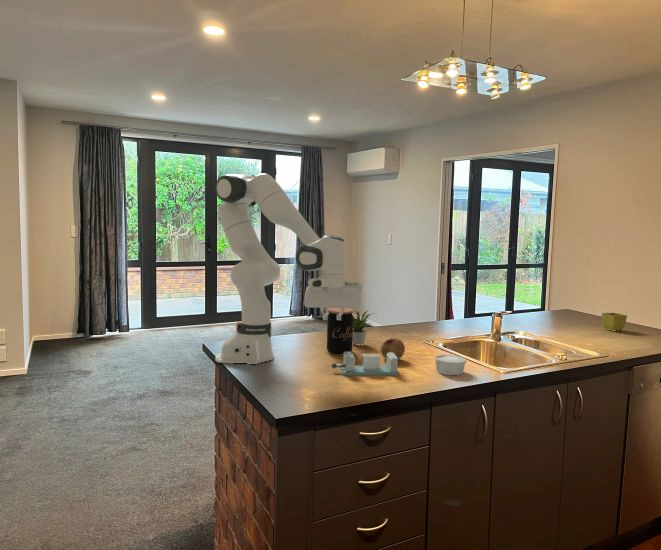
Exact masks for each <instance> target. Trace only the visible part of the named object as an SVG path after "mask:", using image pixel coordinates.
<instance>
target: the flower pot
mask: <svg viewBox="0 0 661 550" xmlns="http://www.w3.org/2000/svg"><path fill="white" fill-rule="evenodd" d="M627 317H628V315H627V314H621V313H617V312H603V313H601V322H602V323H601V324H602V326H603V327H604V329H605V328H606V329H611V330H621V331H622V330H623V329H624V327H625V325H626V322H627ZM606 329H605V330H606Z"/></svg>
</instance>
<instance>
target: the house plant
mask: <svg viewBox="0 0 661 550" xmlns="http://www.w3.org/2000/svg"><path fill="white" fill-rule="evenodd" d="M354 312H355V313H356V318H355V317H354V316H353V340H352V343H353V344H358V345H359V344H360V345H361V344H364V345H365V341H366V335H367V330H366V329H364V328H367V327H368V328H369V327H371V326H370V325H372V323H367V321H368V318H369V317H371V315H374V314H376V313H375V312H374V313H373V312H372V313H368V312H370V310H369V309H367V310H365V311H364V312H363V313H362V316H360V310H354ZM367 313H368V314H367Z"/></svg>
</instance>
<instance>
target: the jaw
mask: <svg viewBox="0 0 661 550" xmlns="http://www.w3.org/2000/svg"><path fill="white" fill-rule="evenodd" d="M342 360H343V361H342V362H343V363H334V362H333V363H332V364H331V368H332V369H336V368H337V369H338V368H340V369H341V368H345V370H346V371H353V370H354V367H355V366H356V365H355V364H356V363H355V362H356V359H355V356H354V354H353V352H352V351H351V352H344V355H343V359H342Z"/></svg>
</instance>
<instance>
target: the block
mask: <svg viewBox="0 0 661 550" xmlns="http://www.w3.org/2000/svg"><path fill="white" fill-rule="evenodd" d="M360 366H361V367H362V369H363V370H380V366H381V355H379V353H361V365H360Z"/></svg>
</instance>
